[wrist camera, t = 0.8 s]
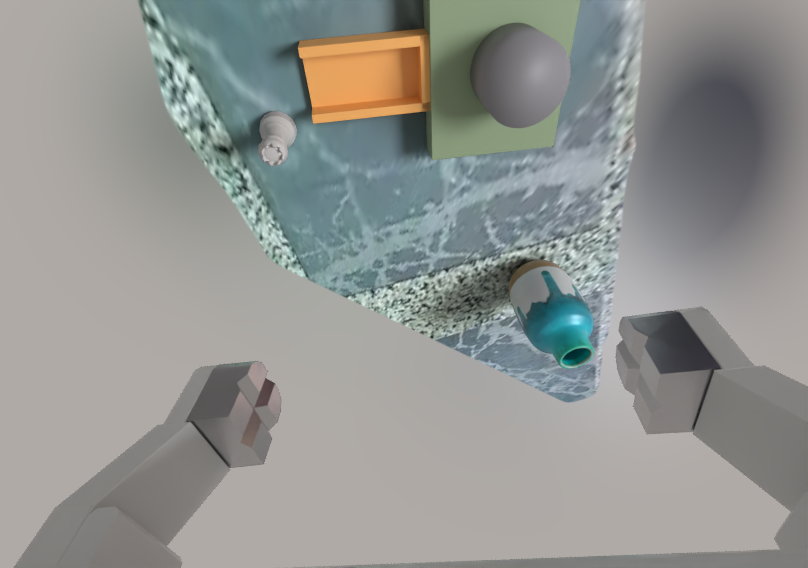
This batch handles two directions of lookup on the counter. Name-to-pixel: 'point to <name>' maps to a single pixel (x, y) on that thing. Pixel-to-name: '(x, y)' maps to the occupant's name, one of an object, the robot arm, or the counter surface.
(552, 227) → the counter surface
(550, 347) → the vase
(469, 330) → the counter surface
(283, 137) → the rook chess piece
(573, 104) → the counter surface
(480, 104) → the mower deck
